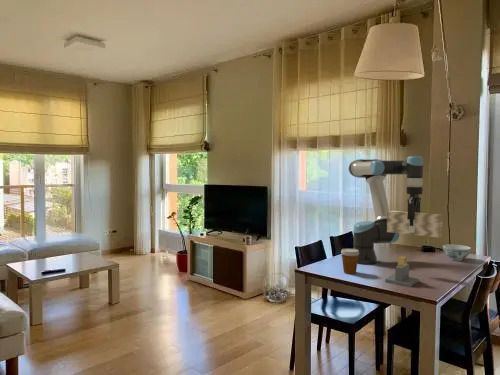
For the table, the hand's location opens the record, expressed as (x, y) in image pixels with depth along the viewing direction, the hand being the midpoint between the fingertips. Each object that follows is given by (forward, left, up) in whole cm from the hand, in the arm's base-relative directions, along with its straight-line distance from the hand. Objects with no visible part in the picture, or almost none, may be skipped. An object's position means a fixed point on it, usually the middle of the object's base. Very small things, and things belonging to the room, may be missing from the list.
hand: (413, 231), depth 201 cm
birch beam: (0, 0, -1) cm, 1 cm away
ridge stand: (0, -16, -23) cm, 28 cm away
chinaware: (+9, +51, -23) cm, 57 cm away
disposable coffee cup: (-27, -17, -23) cm, 39 cm away
